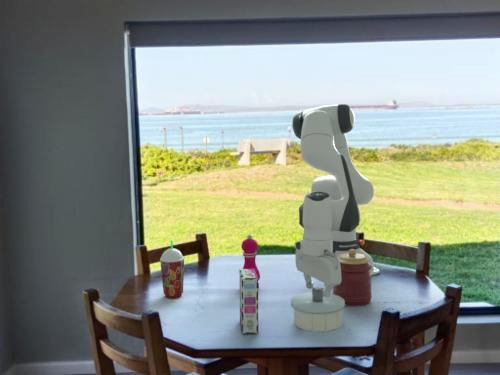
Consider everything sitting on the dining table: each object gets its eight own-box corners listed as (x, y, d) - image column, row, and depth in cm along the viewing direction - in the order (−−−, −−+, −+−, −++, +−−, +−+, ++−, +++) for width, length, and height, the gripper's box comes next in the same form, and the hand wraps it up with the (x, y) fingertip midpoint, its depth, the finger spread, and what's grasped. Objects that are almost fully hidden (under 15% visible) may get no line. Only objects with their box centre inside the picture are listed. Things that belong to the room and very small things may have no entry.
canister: (363, 309, 168) (364, 255, 166) (326, 302, 174) (326, 251, 172) (376, 297, 179) (377, 247, 177) (341, 291, 185) (341, 243, 183)
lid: (325, 293, 167) (325, 278, 167) (355, 308, 153) (355, 292, 152) (281, 300, 160) (281, 285, 160) (308, 317, 146) (308, 301, 145)
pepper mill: (258, 291, 187) (257, 237, 185) (238, 290, 189) (237, 236, 186) (261, 285, 194) (261, 232, 192) (242, 284, 196) (241, 232, 194)
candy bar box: (259, 334, 149) (258, 278, 147) (242, 334, 149) (241, 278, 147) (255, 319, 160) (254, 267, 158) (239, 320, 160) (238, 268, 158)
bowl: (325, 311, 166) (324, 294, 166) (351, 326, 154) (351, 308, 153) (285, 318, 161) (285, 301, 160) (309, 334, 148) (309, 316, 147)
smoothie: (189, 293, 186) (187, 238, 184) (178, 301, 178) (176, 243, 176) (168, 291, 189) (166, 237, 187) (157, 299, 181) (154, 242, 179)
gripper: (347, 253, 146) (346, 300, 148) (309, 239, 165) (309, 282, 166) (328, 255, 144) (328, 304, 145) (291, 241, 162) (292, 284, 164)
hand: (317, 292), depth 156 cm, fingers open, 8 cm apart
